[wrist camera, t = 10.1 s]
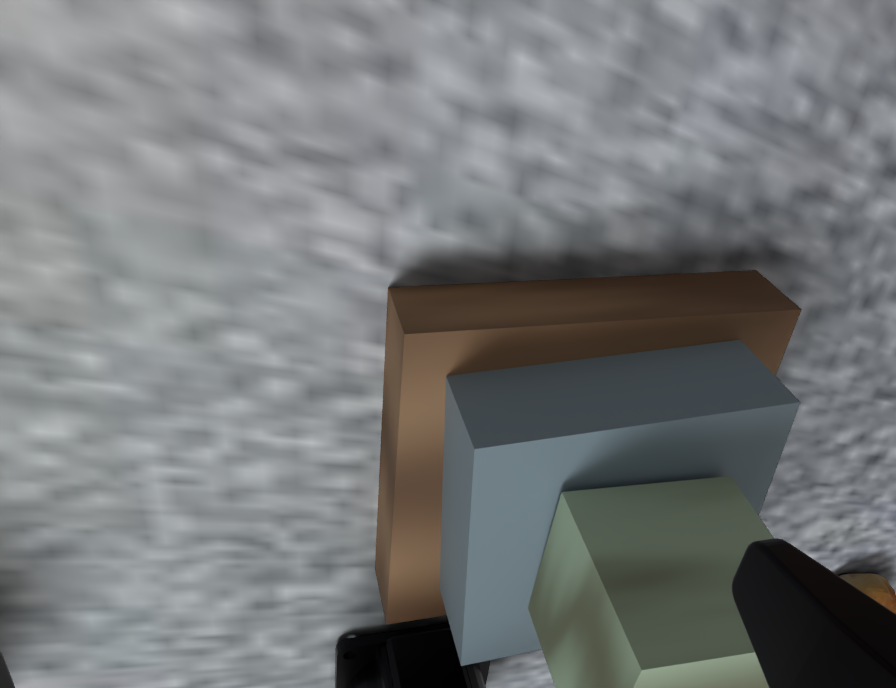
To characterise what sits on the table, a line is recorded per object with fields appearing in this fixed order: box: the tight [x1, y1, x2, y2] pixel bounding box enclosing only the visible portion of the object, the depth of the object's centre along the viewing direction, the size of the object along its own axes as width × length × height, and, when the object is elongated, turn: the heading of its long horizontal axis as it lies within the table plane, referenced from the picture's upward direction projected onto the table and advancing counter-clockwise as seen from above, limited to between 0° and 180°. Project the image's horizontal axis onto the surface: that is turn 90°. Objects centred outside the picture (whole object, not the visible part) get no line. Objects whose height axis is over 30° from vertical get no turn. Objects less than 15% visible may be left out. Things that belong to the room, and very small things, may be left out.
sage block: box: [528, 476, 774, 688], centre depth 20 cm, size 5×5×5 cm
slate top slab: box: [439, 340, 800, 666], centre depth 23 cm, size 9×9×3 cm
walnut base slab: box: [375, 270, 802, 625], centre depth 26 cm, size 12×12×3 cm
